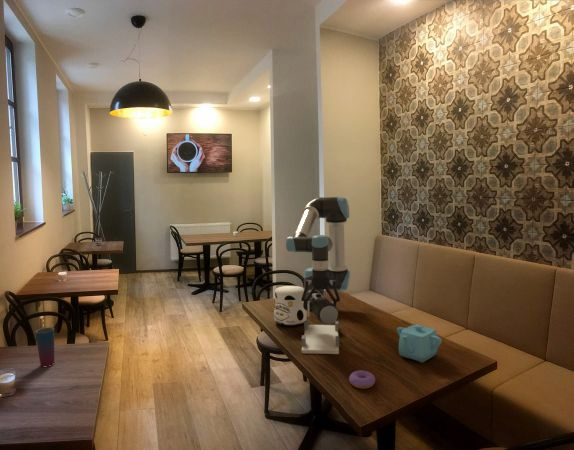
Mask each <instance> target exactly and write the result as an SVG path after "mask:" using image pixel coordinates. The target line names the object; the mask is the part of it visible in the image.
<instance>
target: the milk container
mask: <svg viewBox="0 0 574 450" xmlns="http://www.w3.org/2000/svg"><path fill="white" fill-rule="evenodd" d="M274 291H275V292H274V301H275V302H274V303H275V306H274V310H273V320H274V322H275V323H276V324H278V325H281V326H287V327H295V326H299V325H303V324H304V322H305V321H307V319H308V318H307V317H308V310H307V309H306V308H305V302H304V301H301V299H302V295H303V292H304V287H302V286H297V285H285V286H284V285H283V286H278V287H276V288H275V290H274Z"/></svg>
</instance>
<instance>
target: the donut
mask: <svg viewBox="0 0 574 450" xmlns="http://www.w3.org/2000/svg"><path fill="white" fill-rule="evenodd" d="M348 381H349V383H350V384H351V385H352V386H353V387H355V388H357V389H361V390H364V389H365V390H367V389H370V388H372V387H373V386H374V384H375V382H376V377H375V375H374V374H373V373H372V372H370V371H368V370H363V369H362V370H361V369H359V370H356V371H353V372H352V373H350V374H349V378H348Z"/></svg>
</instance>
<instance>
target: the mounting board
mask: <svg viewBox="0 0 574 450" xmlns="http://www.w3.org/2000/svg"><path fill="white" fill-rule="evenodd" d="M334 323H335V324H334V325H333V324H309V321H308V320H306V321H305V322H304V323H303V325H304V326H303V327H304V328H303V330H304V335H303V334H302V335H301V354H319V355H321V354H323V355H325V354H326V355H327V354H329V355H339V354H340V349H339V348H340V335H339V330H340V329H339V320H336V321H335V322H334Z"/></svg>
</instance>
